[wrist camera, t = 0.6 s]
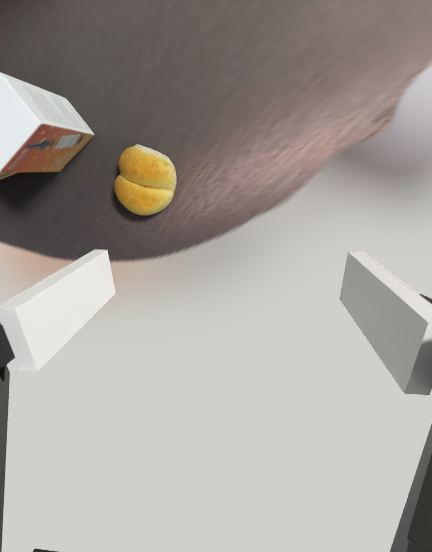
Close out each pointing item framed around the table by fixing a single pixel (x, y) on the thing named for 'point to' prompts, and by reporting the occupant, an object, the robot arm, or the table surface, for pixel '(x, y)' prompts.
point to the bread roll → (145, 180)
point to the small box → (37, 128)
